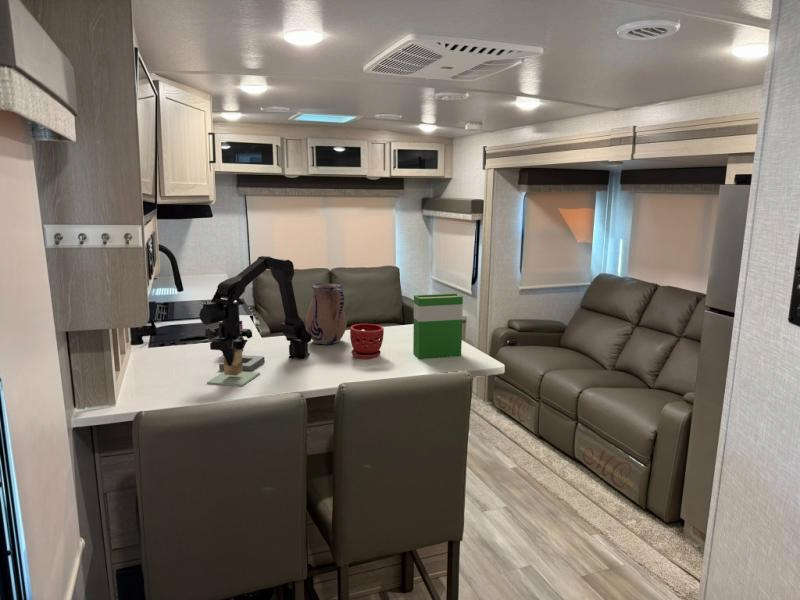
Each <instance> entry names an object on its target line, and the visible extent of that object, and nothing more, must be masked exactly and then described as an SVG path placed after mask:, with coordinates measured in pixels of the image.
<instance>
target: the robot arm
mask: <svg viewBox="0 0 800 600" xmlns="http://www.w3.org/2000/svg"><path fill="white" fill-rule="evenodd" d="M266 270H270V272H271V275H272V277H273V279H274V280H275V282H276V283H277V284H278V288H279V294H280V298H281V302H282V303H281V304H282V307H283V313H284V316H285V318H284V321H283V323H281V324H280V327H281V329H282V330H281V331H282V333H281V334H283V335H284V336H285V338H286V339H285V340H286V341H287V342H289V345H288V353H289V356H288V358H289V359H300V360H301V359H303V360H304V359H306V358H308V356H310V352H309V343H310V342H311V341H312V339H311V338H312V336H311V335H310V334H309V333H308V332H307V331H306V324H305V323H304V321H303V319H302V318H301V317H300V315H299V312H298V308H297V301H296V297H295V291H294V286H293V282H292V281H293V279H294V276H295V268H294V263H293V261H291V260H290V259H283V258H274V257H271V256H267V255H260V256H258V257H257V259H256V260H255V261H253V262H252V263H250V265H248V266H247V267H246V268H245V269H243V270H242V271H241V272H239V273H238V274H237V275H235V276H233V277H230V278H227V279H225V280H223V281H221V282H220V283H219V284H218V285H217V287H216V288H217V289H216V291H215V292H214V295H213V296H212V298H211V301H210V302H209V303H203V304H202V308H201V309H200V312H199V314H198V316H199V320H200V322H201V323H202V324H203V325H204V326H208V325H211V324H216V323H218V326H217V327H214V328H213V327H212V326H210V327H209V328H206V329H204V337H205V338H207V339H208V340H209V341H211V340H212V341H211V342H210V343H209V348H210V349H209V350H211V351H220V352H221V353H222V355H223V354H224V357H225V359H226V361H227V364H228V365H229V366H231V365H232V362H233V358H234V354H235V350H236V349H242V352H243V351H244V349H245V347H246V344H247V342H248V340H249V339H251V338H253V330H251V329H249V328H243V329H240V324H242V325H243V320H240V305H244V304H245V302H244V301H243V300H241V299H240V298H241V296H242V295H243V294H244V293H245V291H246V288H247V286H249V285H250V284H251V283H252V282H253V281H255V279H257V278H258V277H259V276H261V275H262V274H263V273H264V272H265V271H266ZM244 337H246V339H245V338H244ZM223 338H224V339H223ZM213 339H214V340H213Z"/></svg>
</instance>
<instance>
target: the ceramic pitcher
mask: <svg viewBox="0 0 800 600" xmlns="http://www.w3.org/2000/svg"><path fill="white" fill-rule="evenodd" d="M341 287H342V285H341V284H338V283H326V284H325V283H324V284H322V283H316V284H315V285H312V286H311V288H312V289H313V296H312V299H311V302H310V303H309V308H308V311H307V314H306V319H305V328H306V331H307V332H308V333H309V334H310V335H311V336H312V338H311V341H313V342H314V343H316V344H318V345H320V344H321V345H332V344H335V343H338V342H339V341H340V340H341V339H342V338H343V336H345V332H346V330H347V318H346V313H345V310H344V306H345V305H344V304H345V296H344V295H345V294H344V292H343V290H342V289H341Z"/></svg>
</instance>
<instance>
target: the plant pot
mask: <svg viewBox="0 0 800 600" xmlns="http://www.w3.org/2000/svg"><path fill="white" fill-rule="evenodd" d="M384 331H385V330H384V327H383V326H382V325H378V324H374V323H357V324H353V325H351V326H350V331H349V334H350V336H349V337H350V344H351V347H352V348H353V349H352V350H351V356H352V357H355V358H357V359H361V360H371V359H375V358H377V357H379V356H380V355H381V353H382V351H381V348H382V346H383V345H382V344H383V341H384V333H385V332H384Z"/></svg>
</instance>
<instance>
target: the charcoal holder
mask: <svg viewBox="0 0 800 600" xmlns="http://www.w3.org/2000/svg"><path fill="white" fill-rule="evenodd" d="M265 358H266V357H265V356H259V355H243V354H242V365H243V371H244V372H253V371H254V370H255V369H257V368H258V367H261V365H263V364H264V363H265V362H266V361H265ZM218 366H219V369H218V370H219V371H224V361H223V362H220V363H219V364H218Z"/></svg>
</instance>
